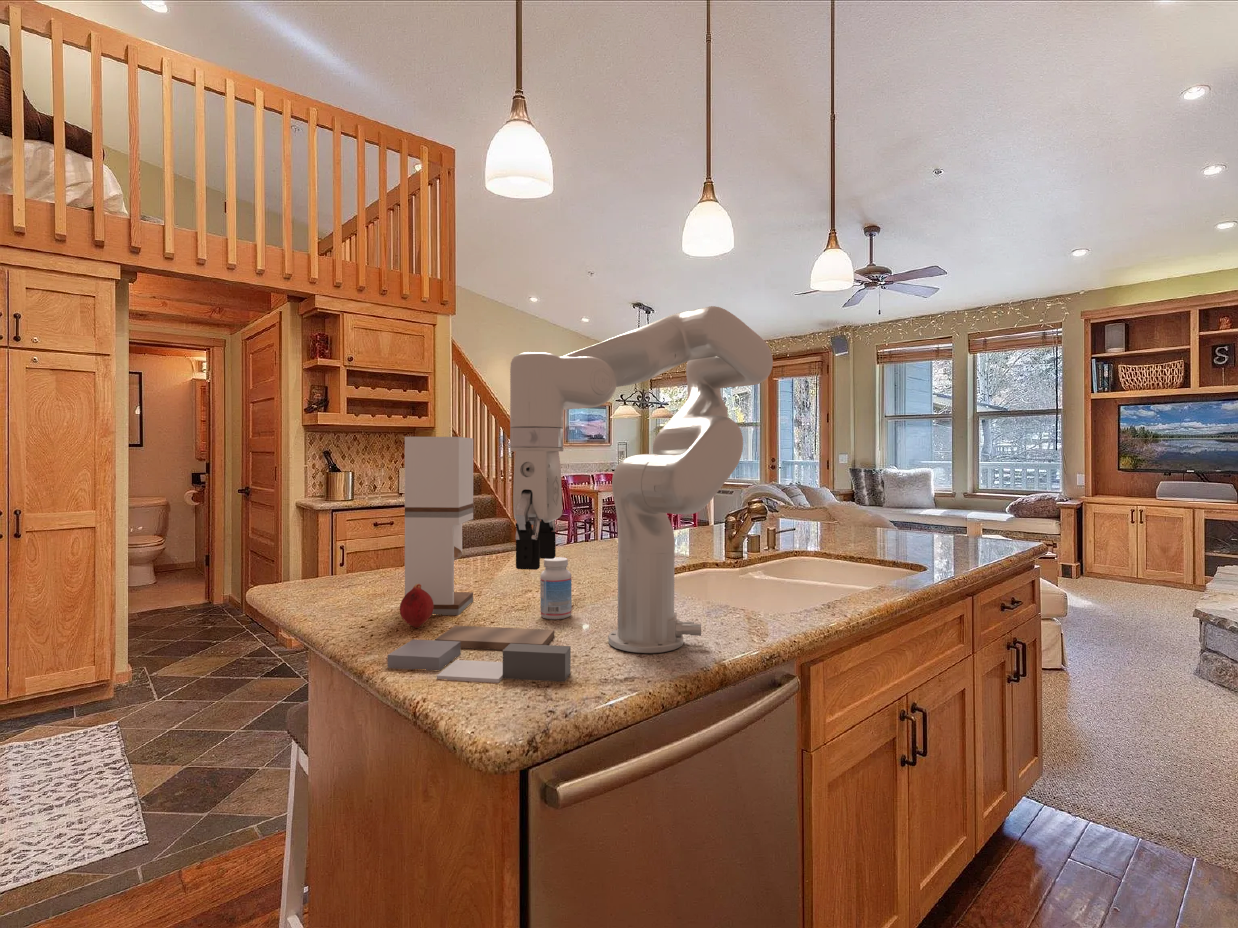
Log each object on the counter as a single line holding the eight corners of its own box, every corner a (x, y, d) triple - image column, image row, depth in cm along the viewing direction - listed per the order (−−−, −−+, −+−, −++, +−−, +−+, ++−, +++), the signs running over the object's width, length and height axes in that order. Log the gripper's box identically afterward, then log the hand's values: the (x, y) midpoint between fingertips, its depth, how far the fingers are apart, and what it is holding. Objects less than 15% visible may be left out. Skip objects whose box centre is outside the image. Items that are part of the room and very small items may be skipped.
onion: (423, 633, 111) (423, 587, 111) (393, 631, 113) (393, 586, 112) (439, 624, 117) (439, 581, 117) (410, 622, 118) (410, 580, 118)
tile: (460, 641, 100) (438, 657, 92) (460, 655, 100) (439, 673, 92) (413, 639, 101) (387, 654, 93) (413, 653, 101) (387, 670, 93)
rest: (554, 636, 110) (554, 629, 110) (541, 651, 101) (541, 644, 101) (455, 632, 112) (455, 625, 112) (434, 646, 104) (434, 639, 104)
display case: (458, 615, 124) (458, 436, 124) (404, 614, 124) (404, 436, 124) (473, 601, 136) (473, 438, 135) (423, 601, 136) (423, 438, 135)
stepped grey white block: (572, 669, 93) (573, 642, 93) (562, 686, 86) (562, 657, 86) (456, 663, 96) (456, 637, 96) (436, 679, 89) (436, 651, 89)
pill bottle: (577, 615, 125) (577, 558, 124) (558, 621, 119) (558, 562, 119) (553, 610, 128) (553, 555, 128) (533, 617, 123) (534, 559, 123)
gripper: (547, 439, 81) (547, 575, 81) (575, 442, 98) (574, 554, 98) (491, 439, 82) (490, 573, 82) (528, 442, 99) (527, 553, 99)
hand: (536, 562), depth 90 cm, fingers open, 8 cm apart
